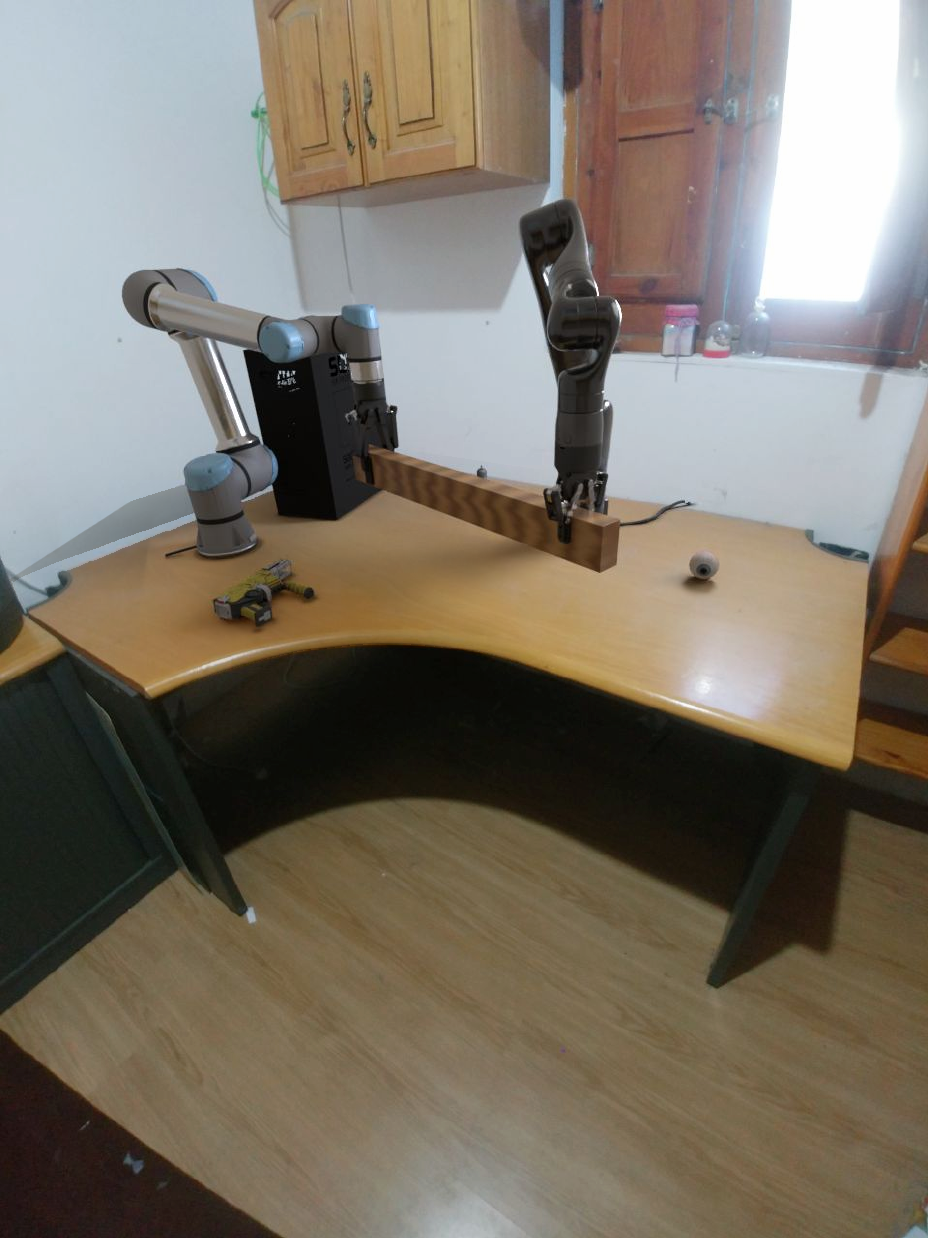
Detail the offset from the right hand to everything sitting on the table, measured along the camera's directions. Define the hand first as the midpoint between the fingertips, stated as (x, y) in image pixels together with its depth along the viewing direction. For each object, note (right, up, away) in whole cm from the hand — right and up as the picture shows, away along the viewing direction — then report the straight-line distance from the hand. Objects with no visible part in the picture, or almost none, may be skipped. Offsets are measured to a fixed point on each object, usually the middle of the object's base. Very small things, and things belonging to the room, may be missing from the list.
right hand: (574, 537), depth 104 cm
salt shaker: (-14, +19, +72) cm, 76 cm away
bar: (-20, +8, +23) cm, 32 cm away
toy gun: (-60, -10, +27) cm, 66 cm away
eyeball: (+32, -5, +26) cm, 42 cm away
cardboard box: (-58, +25, +87) cm, 108 cm away
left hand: (-40, +20, +44) cm, 63 cm away
